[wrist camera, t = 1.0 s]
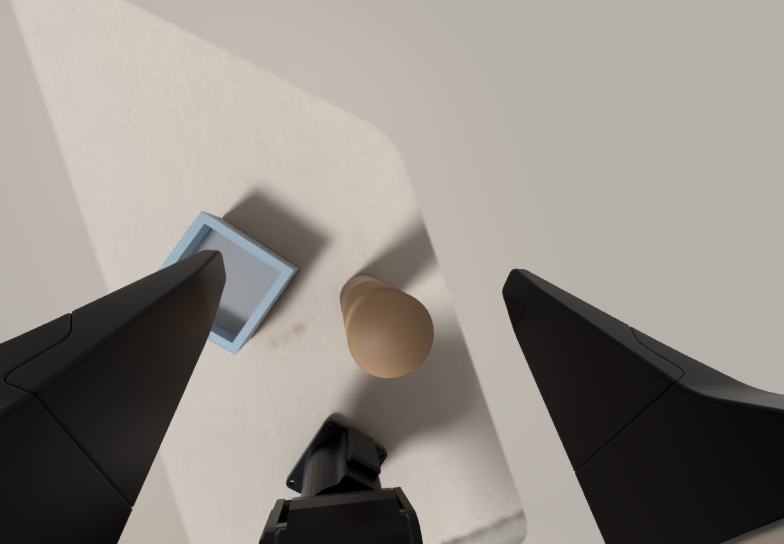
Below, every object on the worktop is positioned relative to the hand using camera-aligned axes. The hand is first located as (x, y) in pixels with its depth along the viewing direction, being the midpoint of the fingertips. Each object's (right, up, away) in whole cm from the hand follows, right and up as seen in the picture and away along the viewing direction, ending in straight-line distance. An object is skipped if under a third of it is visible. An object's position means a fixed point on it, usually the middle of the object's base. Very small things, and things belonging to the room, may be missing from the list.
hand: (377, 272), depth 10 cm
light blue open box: (-12, -1, +15) cm, 19 cm away
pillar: (-2, -2, +17) cm, 17 cm away
